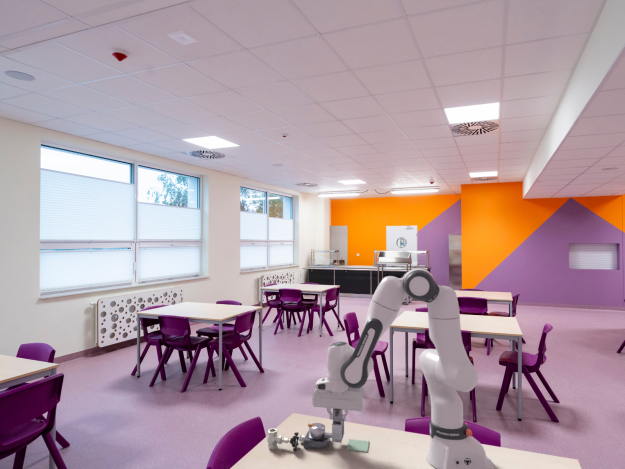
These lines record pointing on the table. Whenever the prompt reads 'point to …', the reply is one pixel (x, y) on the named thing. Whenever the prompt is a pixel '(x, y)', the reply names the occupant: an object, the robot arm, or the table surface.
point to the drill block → (314, 442)
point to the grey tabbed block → (337, 416)
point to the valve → (281, 439)
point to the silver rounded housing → (319, 432)
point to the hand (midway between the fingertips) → (337, 419)
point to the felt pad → (358, 445)
